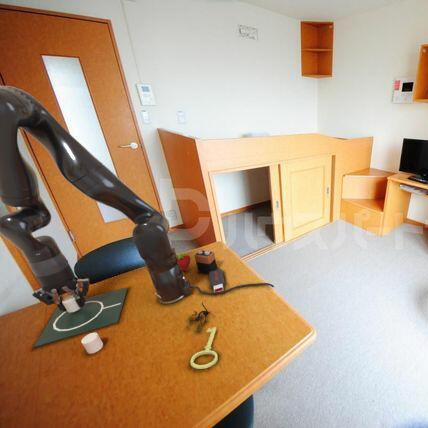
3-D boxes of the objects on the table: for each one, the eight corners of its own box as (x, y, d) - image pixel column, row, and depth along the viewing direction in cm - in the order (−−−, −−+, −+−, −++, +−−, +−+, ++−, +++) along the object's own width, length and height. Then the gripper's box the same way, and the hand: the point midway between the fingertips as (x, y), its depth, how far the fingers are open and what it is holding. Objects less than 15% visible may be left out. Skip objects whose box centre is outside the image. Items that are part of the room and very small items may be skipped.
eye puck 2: (104, 340, 73) (99, 330, 72) (101, 350, 71) (95, 340, 69) (89, 345, 72) (83, 335, 70) (85, 355, 69) (79, 345, 67)
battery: (211, 274, 102) (207, 255, 98) (198, 272, 103) (193, 253, 99) (217, 268, 106) (214, 249, 101) (204, 266, 107) (199, 247, 103)
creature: (194, 338, 76) (216, 320, 80) (186, 329, 73) (210, 310, 77) (184, 324, 81) (206, 307, 85) (177, 315, 78) (200, 298, 82)
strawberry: (173, 276, 100) (167, 257, 96) (183, 265, 107) (177, 246, 103) (186, 277, 100) (181, 257, 96) (196, 265, 107) (191, 247, 103)
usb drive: (222, 272, 103) (221, 267, 102) (226, 290, 94) (225, 284, 93) (209, 275, 101) (208, 270, 100) (212, 294, 92) (210, 288, 91)
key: (217, 329, 78) (216, 325, 77) (218, 364, 67) (217, 360, 66) (192, 337, 75) (191, 332, 74) (190, 374, 65) (188, 370, 64)
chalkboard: (128, 288, 94) (127, 287, 93) (117, 322, 79) (117, 321, 79) (59, 306, 85) (58, 304, 85) (34, 348, 71) (33, 346, 71)
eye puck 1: (83, 303, 85) (78, 293, 83) (79, 310, 82) (74, 300, 80) (69, 306, 83) (64, 297, 81) (65, 314, 80) (59, 304, 78)
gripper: (12, 281, 69) (41, 323, 76) (77, 268, 75) (97, 308, 82) (26, 267, 75) (51, 307, 82) (84, 255, 81) (103, 294, 88)
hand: (74, 307), depth 82 cm, fingers closed on eye puck 1, 3 cm apart
